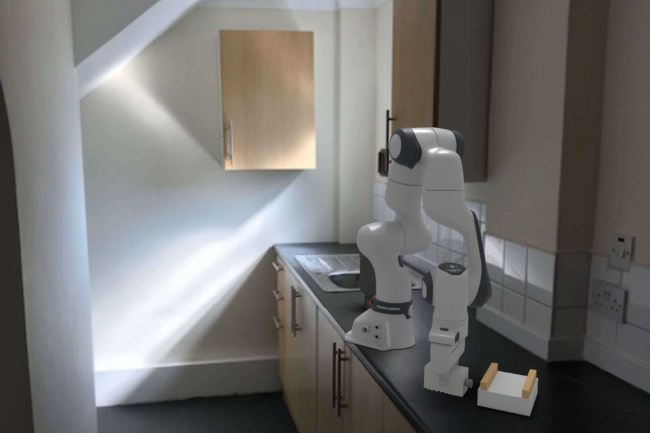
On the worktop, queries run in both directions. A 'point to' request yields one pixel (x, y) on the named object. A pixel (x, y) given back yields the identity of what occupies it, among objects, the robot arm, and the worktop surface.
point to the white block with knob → (455, 377)
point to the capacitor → (367, 279)
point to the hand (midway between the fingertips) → (448, 379)
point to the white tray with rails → (508, 391)
